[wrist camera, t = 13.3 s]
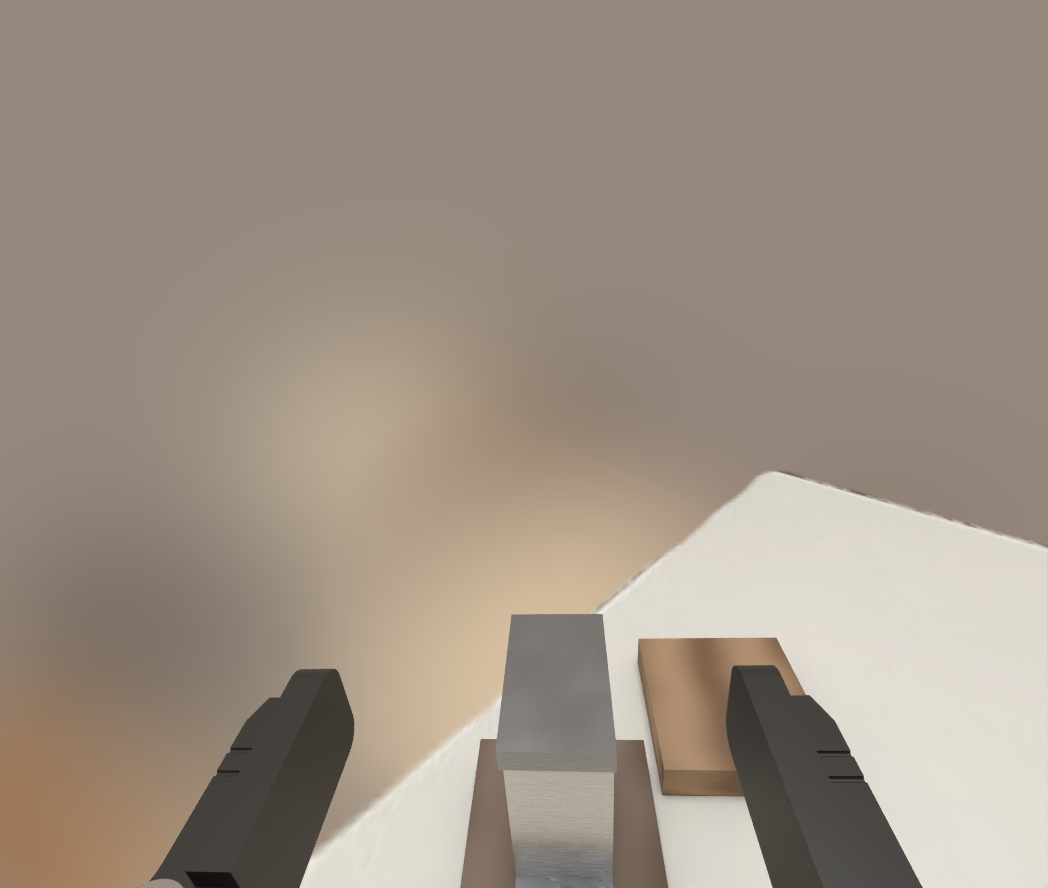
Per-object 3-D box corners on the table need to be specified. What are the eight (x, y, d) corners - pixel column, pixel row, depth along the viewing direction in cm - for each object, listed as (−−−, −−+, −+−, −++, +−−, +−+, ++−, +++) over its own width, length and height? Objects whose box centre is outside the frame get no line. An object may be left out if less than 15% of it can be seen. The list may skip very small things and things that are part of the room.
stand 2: (772, 660, 43) (776, 637, 42) (837, 797, 33) (845, 771, 32) (637, 661, 44) (638, 638, 43) (662, 794, 34) (664, 769, 33)
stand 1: (642, 764, 36) (643, 740, 35) (676, 980, 26) (679, 954, 25) (484, 763, 37) (480, 739, 36) (458, 971, 27) (452, 946, 26)
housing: (602, 762, 34) (602, 614, 29) (614, 916, 26) (617, 753, 21) (525, 761, 34) (511, 614, 29) (516, 912, 27) (495, 751, 22)
